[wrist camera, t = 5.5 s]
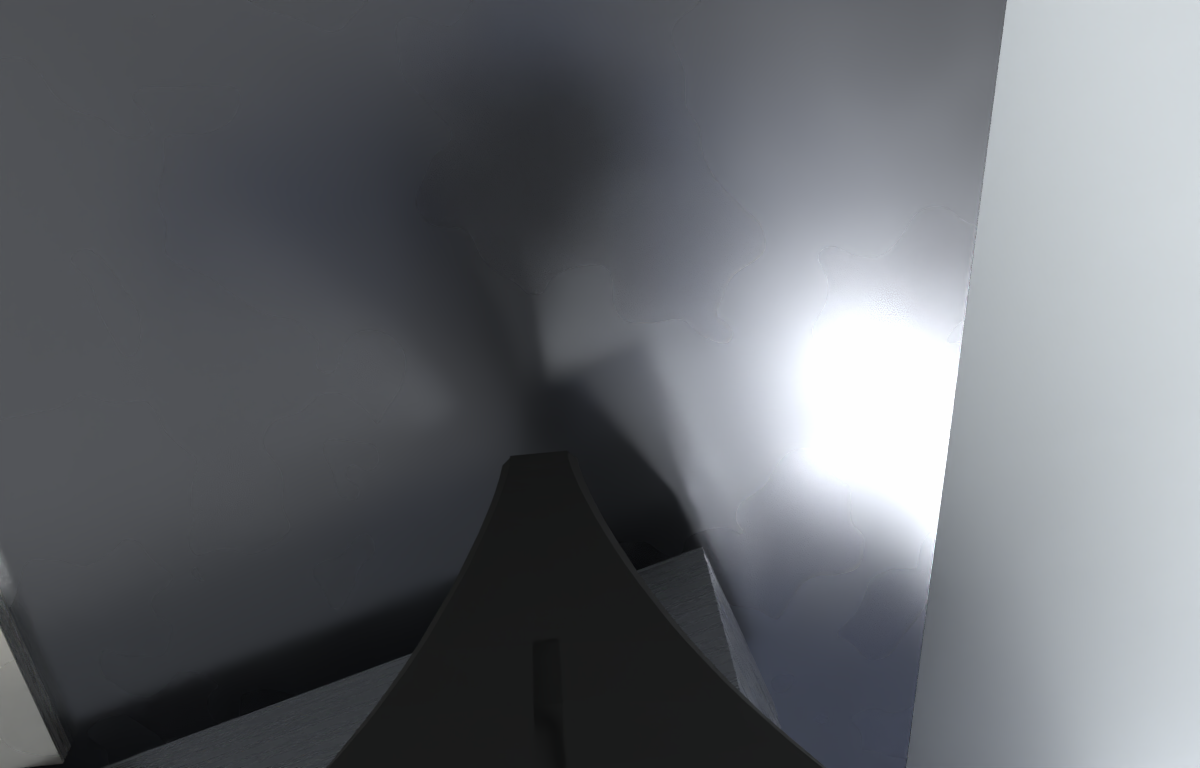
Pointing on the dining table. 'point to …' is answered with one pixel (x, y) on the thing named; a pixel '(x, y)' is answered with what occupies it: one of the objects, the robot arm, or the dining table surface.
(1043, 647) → the dining table surface
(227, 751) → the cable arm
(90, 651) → the psu panel
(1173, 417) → the dining table surface
